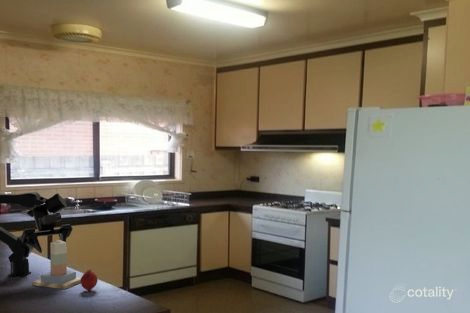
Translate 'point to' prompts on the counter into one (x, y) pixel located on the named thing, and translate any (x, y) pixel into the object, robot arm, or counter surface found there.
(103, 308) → the counter surface
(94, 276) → the onion
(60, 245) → the brick column
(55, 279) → the base brick
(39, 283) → the board
